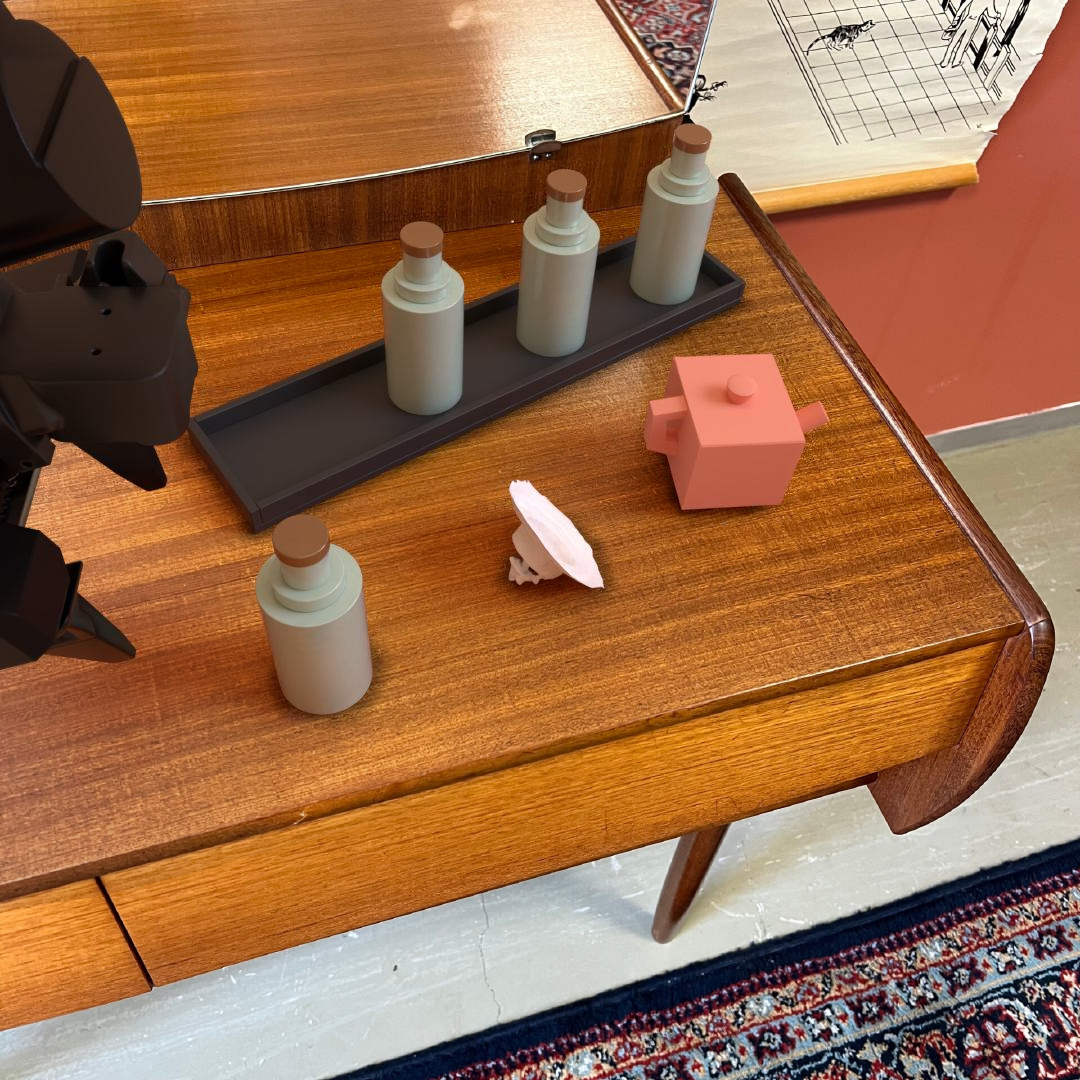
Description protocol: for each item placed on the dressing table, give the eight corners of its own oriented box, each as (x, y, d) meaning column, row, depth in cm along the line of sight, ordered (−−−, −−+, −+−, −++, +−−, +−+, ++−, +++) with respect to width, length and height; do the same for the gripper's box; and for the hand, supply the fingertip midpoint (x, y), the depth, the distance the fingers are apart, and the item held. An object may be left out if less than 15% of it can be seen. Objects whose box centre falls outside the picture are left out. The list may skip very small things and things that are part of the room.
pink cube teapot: (823, 511, 67) (864, 425, 61) (647, 521, 66) (669, 433, 59) (790, 426, 72) (825, 337, 65) (625, 433, 70) (644, 343, 64)
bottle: (273, 714, 55) (234, 580, 45) (285, 633, 59) (251, 491, 48) (369, 715, 56) (352, 582, 46) (375, 635, 59) (361, 494, 49)
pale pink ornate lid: (523, 590, 66) (470, 484, 63) (597, 558, 66) (548, 450, 63) (530, 646, 59) (472, 529, 56) (614, 610, 58) (559, 490, 55)
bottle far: (632, 304, 78) (659, 152, 68) (626, 261, 81) (652, 110, 71) (698, 306, 78) (736, 156, 68) (690, 264, 81) (725, 114, 71)
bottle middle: (516, 356, 73) (527, 202, 63) (515, 309, 76) (525, 155, 66) (587, 358, 74) (610, 206, 64) (583, 311, 77) (604, 159, 67)
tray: (255, 534, 63) (250, 513, 61) (190, 442, 67) (183, 420, 65) (740, 303, 80) (746, 281, 78) (664, 241, 84) (669, 219, 82)
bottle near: (385, 414, 69) (374, 259, 59) (390, 362, 72) (380, 206, 62) (461, 417, 69) (464, 263, 59) (463, 364, 72) (466, 210, 62)
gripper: (9, 460, 25) (299, 722, 37) (129, 71, 36) (321, 371, 49) (-351, 562, 27) (36, 780, 39) (-132, 163, 38) (116, 429, 51)
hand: (143, 566), depth 44 cm, fingers open, 9 cm apart
